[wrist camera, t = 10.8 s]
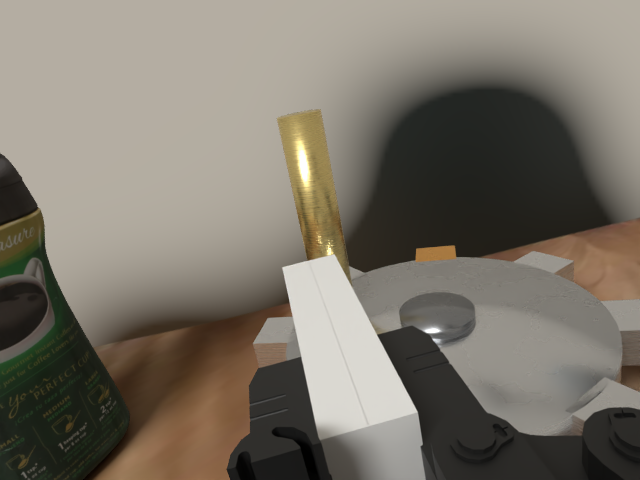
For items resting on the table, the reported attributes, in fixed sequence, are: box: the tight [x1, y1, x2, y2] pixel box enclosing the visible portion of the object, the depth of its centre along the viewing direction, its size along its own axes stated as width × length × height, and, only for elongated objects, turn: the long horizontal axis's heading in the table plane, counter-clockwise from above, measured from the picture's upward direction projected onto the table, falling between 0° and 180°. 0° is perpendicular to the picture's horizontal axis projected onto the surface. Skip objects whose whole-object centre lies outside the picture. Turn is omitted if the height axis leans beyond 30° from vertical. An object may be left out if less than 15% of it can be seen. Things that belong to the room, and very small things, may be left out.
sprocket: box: [253, 109, 640, 436], centre depth 24 cm, size 21×21×14 cm
